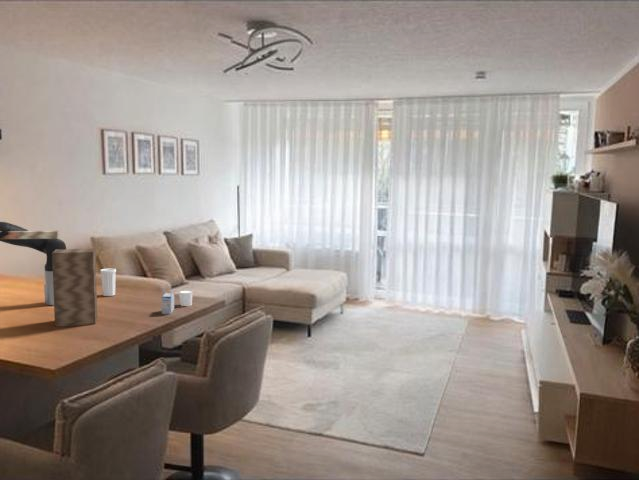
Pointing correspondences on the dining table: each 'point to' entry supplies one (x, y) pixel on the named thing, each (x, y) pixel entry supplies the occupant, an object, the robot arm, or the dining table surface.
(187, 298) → the white tub
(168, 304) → the medicine box
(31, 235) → the wooden block
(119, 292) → the dining table surface
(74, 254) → the walnut pillar
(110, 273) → the cup
